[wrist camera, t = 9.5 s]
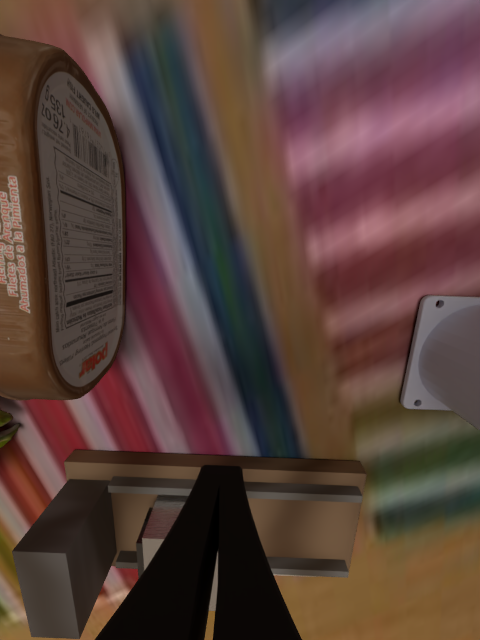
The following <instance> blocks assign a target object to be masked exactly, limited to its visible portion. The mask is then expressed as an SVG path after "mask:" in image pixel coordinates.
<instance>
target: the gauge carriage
mask: <svg viewBox="0 0 480 640" xmlns="http://www.w3.org/2000/svg"><path fill="white" fill-rule="evenodd" d="M187 498H188V496H181V495H158V496H157V499H156V501H155V504H154V507H153V508H151V507H149V510H148V513H147V515H146V518H145V521H144V523H143V526H142V529H141V531H140V534H139V537H138V539H137V542H136V550H137V563H138V576H139V578H140V576H141V575H142V574H143V572H144V571H145V569H146V567H147V566H148V564H149V563H150V561H151V560H152V558H153V557H154V555H155V553H156V552H157V550H158V549H159V547H160V545H161V544H162V542H163V541H164V539H165V537H166V536H167V534H168V532H169V531H170V529H171V527H172V526H173V524H174V522H175V520H176V518H177V517H178V515H179V513H180V511H181V509H182V508H183V506H184V504H185V502H186V500H187ZM217 587H218V553H217V559H216V566H215V573H214V579H213V586H212V592H211V599H210V605H209V610H211V611H215V610H216V599H217Z"/></svg>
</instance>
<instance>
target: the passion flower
mask: <svg viewBox="0 0 480 640" xmlns="http://www.w3.org/2000/svg"><path fill="white" fill-rule="evenodd" d="M12 419H13V416H12V415H11V414H10V413H7V412H5V411H2V410H0V427H1V426H3V425H5V424H7V423H9V422H10V421H11V420H12ZM19 426H20V424H17V425H14V426H13V427H12V428H10V429H7V430H5V431H2V432H0V448H1V447H3V446H4V445H5V444H6V443H7V442H8V441H10V440H11V438H12V436H13V435H14V434H15V433H16V432H17V430H18V428H19Z"/></svg>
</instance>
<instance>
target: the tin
mask: <svg viewBox="0 0 480 640" xmlns="http://www.w3.org/2000/svg"><path fill="white" fill-rule="evenodd" d="M125 262H126V218H125V180H124V170H123V163H122V157H121V152H120V147H119V143H118V139H117V136H116V132H115V129H114V126H113V123H112V120H111V117H110V115H109V112H108V110H107V108H106V106H105V104H104V103H103V101H102V99H101V98H100V96H99V95H98V93H97V92H96V90H95V89H94V87H93V85H92V84H91V82H90V81H89V79H88V78H87V76H86V75H85V73H84V72H83V71H82V69H81V68H80V67H79V66H78V64H77V63H76V62H75V61H74V60H73V59H72V58H71V57H70V56H69V55H68V54H67V53H66V52H65V51H64V50H62V49H61V48H58V47H55V46H52V45H49V44H44V43H40V42H35V41H30V40H24V39H19V38H13V37H6V36H3V35H1V34H0V395H1V396H2V397H5V398H8V399H12V400H30V399H48V400H72V399H78V398H81V397H82V396H84V395H85V394H87V393H88V392H89V391H90V390H92V389H93V388H94V387H95V385H96V384H97V383H98V382H99V381H100V380H101V378H102V377H103V376H104V375H105V374H106V373H107V372H108V370H109V369H110V368H111V366H112V364H113V362H114V360H115V358H116V355H117V352H118V349H119V345H120V342H121V338H122V333H123V327H124V319H125Z"/></svg>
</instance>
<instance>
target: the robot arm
mask: <svg viewBox="0 0 480 640" xmlns="http://www.w3.org/2000/svg"><path fill="white" fill-rule="evenodd" d="M438 300H439V305H438V306H437V307H436V302H437V301H438ZM416 400H418V401H417V402H416V403H414V402H415V401H416ZM400 402H401V404H402V405H403V406H404V407H405V408H408V409H428V410H452V411H454V412H455V413H456V414H458V415H459V416H461V417H462V418H463V419H465V420H466V421H468V422H469V423H470V424H472V425H473V426H474V427H476V428H477V429H479V430H480V297H467V296H441V295H427V296H425V297H423V298H422V300H421V302H420V306H419V311H418V316H417V321H416V326H415V331H414V336H413V341H412V345H411V350H410V355H409V360H408V365H407V370H406V375H405V380H404V385H403V390H402V394H401V399H400ZM217 553H218V587H217V599H216V610H215V622H214V633H213V640H302V639H301V637H300V635H299V633H298V630H297V628H296V626H295V624H294V622H293V620H292V617H291V615H290V613H289V611H288V608H287V606H286V604H285V602H284V599H283V597H282V595H281V592H280V590H279V588H278V585H277V583H276V580H275V578H274V575H273V573H272V570H271V568H270V565H269V562H268V560H267V557H266V554H265V552H264V549H263V546H262V544H261V541H260V538H259V535H258V532H257V529H256V525H255V522H254V519H253V516H252V513H251V509H250V506H249V502H248V498H247V494H246V490H245V485H244V479H243V469H242V468H241V467H240V466H223V465H204V466H202V467H201V469H200V472H199V475H198V477H197V479H196V482H195V484H194V486H193V488H192V490H191V492H190V494H189V496H188V498H187V500H186V502H185V504H184V506H183V508H182V509H181V511H180V513H179V515H178V517H177V518H176V520H175V522H174V524H173V526H172V527H171V529H170V531H169V532H168V534H167V536H166V537H165V539H164V541H163V542H162V544H161V545H160V547H159V549H158V550H157V552H156V553H155V555H154V557H153V558H152V560H151V561H150V563H149V564H148V566H147V567H146V569H145V571H144V572H143V574H142V575H141V576H140V578H139V579H138V581H137V582H136V584H135V585H134V587H133V588H132V590H131V591H130V592H129V594H128V595H127V597H126V598H125V599H124V601H123V602H122V604H121V605H120V606H119V608H118V609H117V611H116V612H115V613H114V615H113V616H112V617H111V619H110V620H109V621H108V623H107V624H106V625H105V627H104V628H103V629H102V631H101V632H100V633H99V635H98V636H97V637H96V639H95V640H204V638H205V631H206V625H207V618H208V612H209V605H210V599H211V592H212V586H213V579H214V573H215V566H216V559H217Z"/></svg>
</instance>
